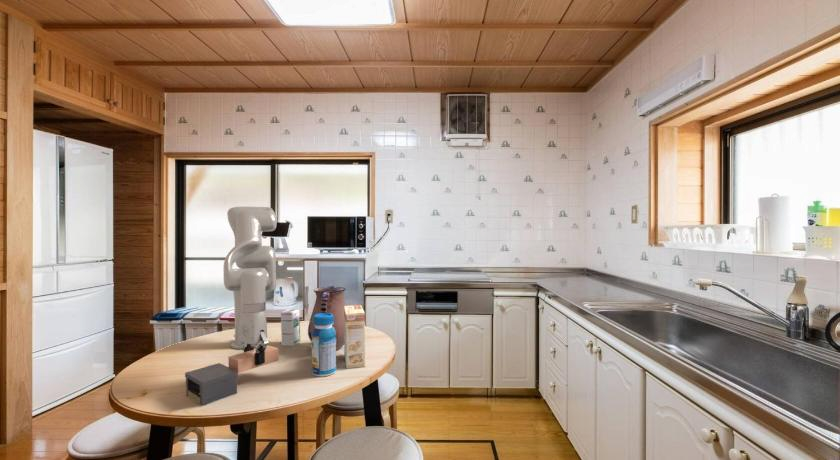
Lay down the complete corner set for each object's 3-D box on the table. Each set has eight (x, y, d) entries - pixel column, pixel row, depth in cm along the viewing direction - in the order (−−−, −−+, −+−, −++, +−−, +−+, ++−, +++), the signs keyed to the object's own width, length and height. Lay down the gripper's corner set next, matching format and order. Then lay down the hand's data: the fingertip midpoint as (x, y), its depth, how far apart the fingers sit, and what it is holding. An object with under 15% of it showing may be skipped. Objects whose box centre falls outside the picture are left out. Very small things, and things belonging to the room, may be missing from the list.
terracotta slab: (228, 369, 119) (228, 356, 119) (268, 356, 131) (268, 345, 131) (238, 373, 116) (238, 360, 116) (278, 360, 127) (278, 348, 127)
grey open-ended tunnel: (185, 395, 112) (185, 372, 112) (219, 383, 120) (219, 362, 120) (202, 406, 105) (202, 382, 105) (238, 393, 113) (237, 371, 113)
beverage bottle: (330, 378, 124) (329, 318, 124) (307, 376, 125) (306, 317, 125) (340, 368, 132) (339, 312, 132) (318, 367, 134) (317, 311, 134)
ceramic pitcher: (350, 340, 165) (350, 284, 165) (352, 356, 145) (351, 292, 145) (309, 343, 162) (308, 285, 161) (305, 360, 141) (304, 294, 141)
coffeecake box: (365, 366, 133) (365, 312, 133) (345, 369, 132) (345, 314, 132) (362, 353, 148) (361, 304, 148) (344, 354, 146) (343, 305, 146)
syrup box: (293, 346, 158) (293, 312, 158) (281, 345, 159) (280, 311, 159) (300, 342, 164) (300, 309, 163) (288, 341, 165) (287, 308, 165)
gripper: (229, 306, 125) (230, 360, 125) (256, 313, 115) (257, 371, 115) (250, 303, 131) (251, 354, 131) (278, 308, 121) (279, 364, 121)
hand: (254, 361), depth 123 cm, fingers closed on terracotta slab, 6 cm apart
